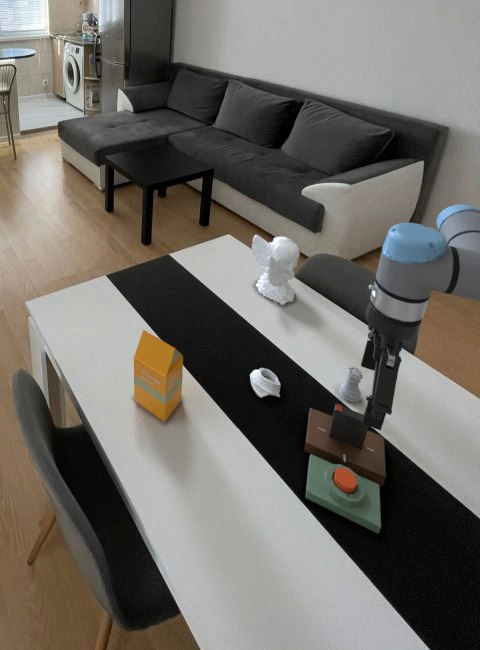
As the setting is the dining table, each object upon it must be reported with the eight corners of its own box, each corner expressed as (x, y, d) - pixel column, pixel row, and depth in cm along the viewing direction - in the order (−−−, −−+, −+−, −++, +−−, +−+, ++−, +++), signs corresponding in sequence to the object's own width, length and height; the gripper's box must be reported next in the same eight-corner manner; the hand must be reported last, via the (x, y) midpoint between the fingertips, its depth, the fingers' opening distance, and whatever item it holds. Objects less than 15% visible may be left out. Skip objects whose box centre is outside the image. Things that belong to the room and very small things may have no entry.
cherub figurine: (303, 307, 130) (313, 253, 122) (262, 309, 130) (269, 255, 123) (284, 279, 142) (292, 228, 134) (247, 280, 142) (252, 230, 135)
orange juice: (164, 422, 99) (166, 359, 92) (133, 400, 105) (132, 339, 97) (181, 399, 104) (184, 337, 97) (151, 378, 110) (151, 319, 103)
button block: (377, 491, 84) (381, 478, 82) (378, 534, 78) (383, 521, 76) (308, 460, 90) (311, 448, 88) (305, 498, 84) (308, 485, 82)
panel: (380, 443, 92) (384, 433, 91) (383, 489, 84) (386, 479, 83) (308, 414, 99) (310, 404, 98) (304, 454, 91) (306, 444, 90)
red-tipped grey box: (361, 442, 90) (369, 415, 87) (361, 450, 88) (369, 423, 85) (329, 429, 93) (335, 402, 90) (328, 436, 91) (335, 409, 88)
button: (355, 479, 83) (357, 473, 82) (355, 497, 80) (357, 491, 79) (334, 469, 85) (335, 463, 84) (333, 487, 82) (334, 481, 81)
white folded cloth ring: (244, 378, 110) (243, 363, 108) (268, 371, 110) (268, 356, 109) (261, 404, 102) (261, 389, 101) (287, 397, 103) (287, 382, 101)
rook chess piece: (362, 405, 100) (369, 381, 97) (340, 400, 102) (346, 376, 99) (357, 389, 104) (364, 365, 101) (336, 384, 106) (342, 361, 103)
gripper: (367, 261, 85) (347, 341, 93) (372, 352, 65) (346, 443, 73) (413, 272, 81) (389, 354, 89) (433, 371, 62) (400, 465, 70)
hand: (370, 394), depth 81 cm, fingers open, 13 cm apart
